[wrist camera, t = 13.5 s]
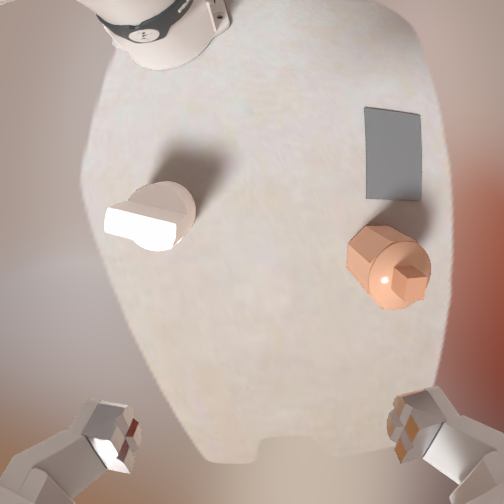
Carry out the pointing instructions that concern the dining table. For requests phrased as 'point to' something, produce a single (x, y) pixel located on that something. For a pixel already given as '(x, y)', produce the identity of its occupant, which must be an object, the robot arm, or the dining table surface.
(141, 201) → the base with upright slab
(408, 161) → the mat
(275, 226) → the dining table surface
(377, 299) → the cloche
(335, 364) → the dining table surface
